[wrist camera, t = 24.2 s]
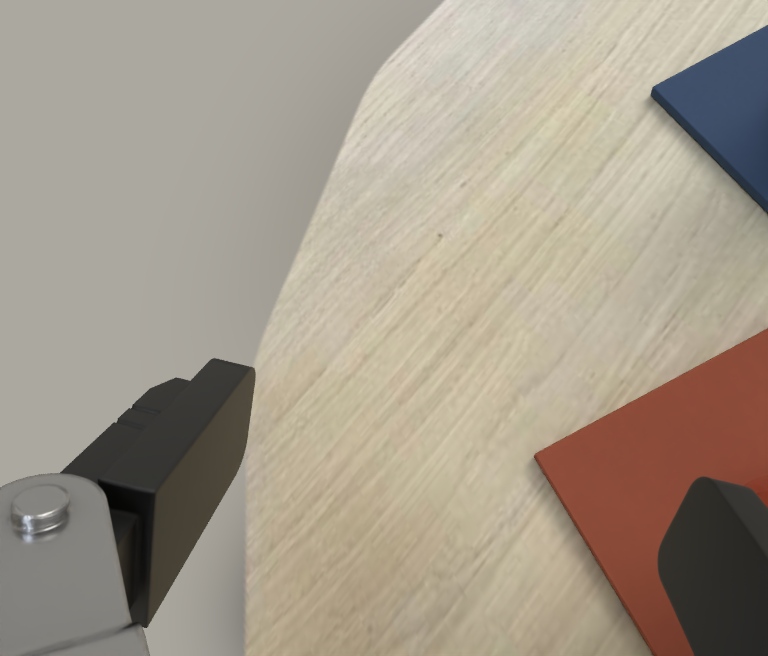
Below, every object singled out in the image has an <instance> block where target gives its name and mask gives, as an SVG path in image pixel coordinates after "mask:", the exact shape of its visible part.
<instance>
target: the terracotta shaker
mask: <svg viewBox="0 0 768 656" xmlns="http://www.w3.org/2000/svg"><path fill="white" fill-rule="evenodd" d="M744 486H746V487H749V488H751V489H752V490H753V491H754V492H755V493H756V494H757V495H758V497H759V498H760V499H761V500H762V502H763V503H764V504H765V505H766V507H767V508H768V475H765V476H762V477H758V478H756V479H753V480H751V481H749V482H748V483H746V484H745V485H744Z"/></svg>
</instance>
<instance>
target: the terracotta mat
mask: <svg viewBox="0 0 768 656" xmlns="http://www.w3.org/2000/svg"><path fill="white" fill-rule="evenodd" d="M534 458H535V459H536V461H537V463H538V464H539V466H540V468H541V469H542V471H543V473H544V474H545V476H546V478H547V479H548V481H549V483H550V484H551V486H552V487H553V489H554V491H555V492H556V494H557V496H558V497H559V499H560V501H561V502H562V504H563V506H564V507H565V509H566V511H567V512H568V514H569V516H570V517H571V519H572V521H573V522H574V524H575V526H576V527H577V529H578V531H579V532H580V534H581V535H582V537H583V539H584V540H585V542H586V544H587V545H588V547H589V549H590V550H591V552H592V554H593V555H594V557H595V559H596V560H597V562H598V564H599V565H600V567H601V569H602V570H603V572H604V574H605V575H606V577H607V579H608V580H609V582H610V583H611V585H612V587H613V588H614V590H615V592H616V593H617V595H618V597H619V598H620V600H621V602H622V603H623V605H624V607H625V608H626V610H627V612H628V613H629V615H630V617H631V618H632V620H633V622H634V623H635V625H636V627H637V628H638V630H639V631H640V633H641V635H642V636H643V638H644V640H645V641H646V643H647V645H648V646H649V648H650V650H651V651H652V653H653V655H654V656H694V653H693V651H692V649H691V647H690V645H689V642H688V640H687V638H686V636H685V633H684V631H683V629H682V627H681V625H680V622H679V620H678V618H677V616H676V613H675V611H674V609H673V607H672V605H671V602H670V600H669V598H668V596H667V593H666V591H665V589H664V587H663V585H662V582H661V580H660V577H659V573H658V565H657V559H658V551H659V547H660V544H661V542H662V539H663V537H664V536H665V534H666V532H667V530H668V528H669V526H670V524H671V522H672V520H673V518H674V516H675V514H676V512H677V510H678V509H679V507H680V505H681V503H682V501H683V499H684V497H685V495H686V493H687V491H688V489H689V487H690V486H691V484H692V483H693V482H694V481H695V480H696V479H697V478H699V477H709V478H713V479H717V480H722V481H726V482H730V483H734V484H738V485H742V486H744V485H745V484H746V483H748V482H749V481H751V480H753V479H756V478H758V477H762V476H765V475H768V329H766V330H764V331H762V332H760V333H758V334H757V335H755V336H753V337H751V338H749V339H747V340H745V341H744V342H742V343H740V344H738V345H736V346H734V347H732V348H731V349H729V350H727V351H725V352H723V353H721V354H719V355H718V356H716V357H714V358H712V359H710V360H708V361H706V362H705V363H703V364H701V365H699V366H697V367H695V368H693V369H692V370H690V371H688V372H686V373H684V374H682V375H680V376H679V377H677V378H675V379H673V380H671V381H669V382H667V383H666V384H664V385H662V386H660V387H658V388H656V389H654V390H653V391H651V392H649V393H647V394H645V395H643V396H641V397H640V398H638V399H636V400H634V401H632V402H630V403H628V404H627V405H625V406H623V407H621V408H619V409H617V410H616V411H614V412H612V413H610V414H608V415H606V416H604V417H603V418H601V419H599V420H597V421H595V422H593V423H591V424H590V425H588V426H586V427H584V428H582V429H580V430H578V431H577V432H575V433H573V434H571V435H569V436H567V437H565V438H564V439H562V440H560V441H558V442H556V443H554V444H552V445H551V446H549V447H547V448H545V449H543V450H541V451H539V452H538V453H536V454H535V455H534Z"/></svg>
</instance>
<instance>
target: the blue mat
mask: <svg viewBox="0 0 768 656" xmlns="http://www.w3.org/2000/svg"><path fill="white" fill-rule="evenodd" d="M651 96H652V97H653V98H654V99H655V100H656V101H657V102H658V103H659V104H660V105H661V106H662V107H663V108H664V109H665V110H666V111H667V112H668V113H669V114H670V115H671V116H672V117H673V118H674V119H675V120H676V121H677V122H678V123H679V124H680V125H681V126H682V127H683V128H684V129H685V130H686V131H687V132H688V133H689V134H690V135H691V136H692V137H693V138H694V139H695V140H696V141H697V142H698V143H699V144H700V145H701V146H702V147H703V148H704V149H705V150H706V151H707V152H708V153H709V154H710V155H711V156H712V157H713V158H714V159H715V160H716V161H717V162H718V163H719V164H720V165H721V166H722V167H723V168H724V169H725V170H726V171H727V172H728V173H729V174H730V175H731V176H732V177H733V178H734V179H735V180H736V181H737V182H738V183H739V184H740V185H741V186H742V187H743V188H744V189H745V190H746V191H747V192H748V193H749V194H750V195H751V196H752V197H753V198H754V199H755V200H756V201H757V202H758V203H759V204H760V205H761V206H762V207H763V208H764V209H765V210H766V211H767V212H768V25H767V26H765V27H763V28H761V29H760V30H758V31H756V32H754V33H752V34H750V35H748V36H747V37H745V38H743V39H741V40H739V41H737V42H735V43H734V44H732V45H730V46H728V47H726V48H724V49H722V50H721V51H719V52H717V53H715V54H713V55H711V56H709V57H708V58H706V59H704V60H702V61H700V62H698V63H696V64H695V65H693V66H691V67H689V68H687V69H685V70H683V71H682V72H680V73H678V74H676V75H674V76H672V77H670V78H669V79H667V80H665V81H663V82H661V83H659V84H657V85H656V86H654V87H653V88H652V91H651Z"/></svg>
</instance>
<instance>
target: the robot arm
mask: <svg viewBox="0 0 768 656" xmlns="http://www.w3.org/2000/svg"><path fill="white" fill-rule="evenodd" d="M254 386H255V369H254V368H253V367H249V366H244V365H240V364H236V363H232V362H228V361H224V360H220V359H215V358H214V359H211V360H210V361H209V362H208V363H207V364H206V365H205V366H204V367H203V369H201V370H200V371H199V372H198V374H197V375H196V376H195V377H194V378H193V379H192V380H191V381H188V380H184V379H180V378H174V379H172V380H169V381H167V382H165V383H162V384H160V385H157V386H155V387H153V388H150V389H149V390H148V391H147V392H146V393H145V394H144V395H143V396H142V397H141V398H140V399H138V400H137V401H136V402H135V403H134V404H133V406H132V408H131V409H130V408H129V409H128V410H127V411H126V412H125V413H123V414H122V415H121V416H120V417H119V418H118V421H117V423H113V424H112V425H111V426H110V427H108V428H107V429H106V431H104V432H103V433H102V434H101V435H100V436H99V437H98V438H97V439H96V440H95V441H94V442H93V443H91V444H90V445H89V446H88V447H87V448H86V449H85V450H84V451H83V452H82V453H81V454H80V455H79V456H78V457H76V458H75V459H74V460H73V461H72V462H71V463H70V464H69V465H68V466H67V467H66V468H65V469H64V470H63V471H62V472H60V473H55V474H52V473H51V474H41V475H35V476H30V477H26V478H23V479H19V480H16V481H13V482H11V483H8V484H6V485H4V486H2V487H0V656H150V654H149V650H148V645H147V641H146V637H145V634H144V630H143V628H142V627H144V628H147V627H148V625H149V623H150V622H151V620H152V618H153V617H154V615H155V613H156V611H157V610H158V608H159V606H160V605H161V603H162V601H163V600H164V598H165V596H166V594H167V593H168V591H169V589H170V587H171V586H172V584H173V582H174V580H175V579H176V577H177V575H178V574H179V572H180V570H181V569H182V567H183V565H184V563H185V562H186V560H187V558H188V557H189V555H190V553H191V551H192V549H193V548H194V546H195V544H196V543H197V541H198V539H199V538H200V536H201V534H202V532H203V530H204V529H205V527H206V526H207V524H208V522H209V520H210V519H211V517H212V515H213V513H214V512H215V510H216V508H217V506H218V505H219V503H220V501H221V500H222V498H223V496H224V495H225V493H226V491H227V489H228V488H229V486H230V484H231V483H232V481H233V479H234V477H235V476H236V474H237V471H238V469H239V467H240V465H241V462H242V459H243V456H244V452H245V448H246V444H247V438H248V430H249V423H250V416H251V408H252V401H253V393H254ZM657 565H658V573H659V577H660V580H661V582H662V585H663V587H664V589H665V591H666V593H667V596H668V598H669V600H670V602H671V605H672V607H673V609H674V611H675V613H676V616H677V618H678V620H679V622H680V625H681V627H682V629H683V631H684V633H685V636H686V638H687V640H688V642H689V645H690V647H691V649H692V651H693V653H694V656H768V508H767V507H766V505H765V504H764V503H763V502H762V500H761V499H760V498H759V497H758V495H757V494H756V493H755V492H754V491H753V490H752V489H751V488H749V487H746V486H742V485H738V484H734V483H730V482H726V481H722V480H717V479H713V478H709V477H699V478H697V479H696V480H695V481H694V482H693V483H692V484H691V486H690V487H689V489H688V491H687V493H686V495H685V497H684V499H683V501H682V503H681V505H680V507H679V509H678V510H677V512H676V514H675V516H674V518H673V520H672V522H671V524H670V526H669V528H668V530H667V532H666V534H665V536H664V537H663V539H662V542H661V544H660V547H659V551H658V559H657Z"/></svg>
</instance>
